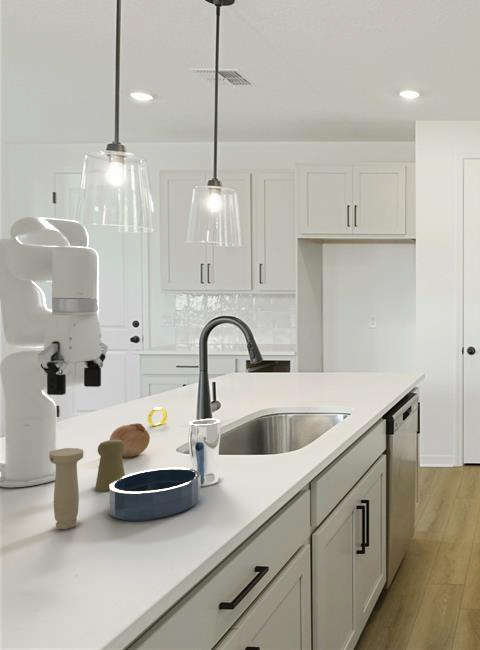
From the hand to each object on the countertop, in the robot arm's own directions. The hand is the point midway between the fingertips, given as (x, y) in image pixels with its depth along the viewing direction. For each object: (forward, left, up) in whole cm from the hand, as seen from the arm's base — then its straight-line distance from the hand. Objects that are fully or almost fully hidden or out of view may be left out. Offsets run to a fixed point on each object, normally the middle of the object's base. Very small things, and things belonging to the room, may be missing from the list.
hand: (75, 390), depth 116 cm
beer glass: (+15, +22, -26) cm, 38 cm away
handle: (+2, -5, -26) cm, 27 cm away
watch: (-31, +79, -26) cm, 89 cm away
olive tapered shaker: (-5, +18, -26) cm, 32 cm away
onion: (-17, +43, -26) cm, 53 cm away
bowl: (+13, +6, -26) cm, 30 cm away
